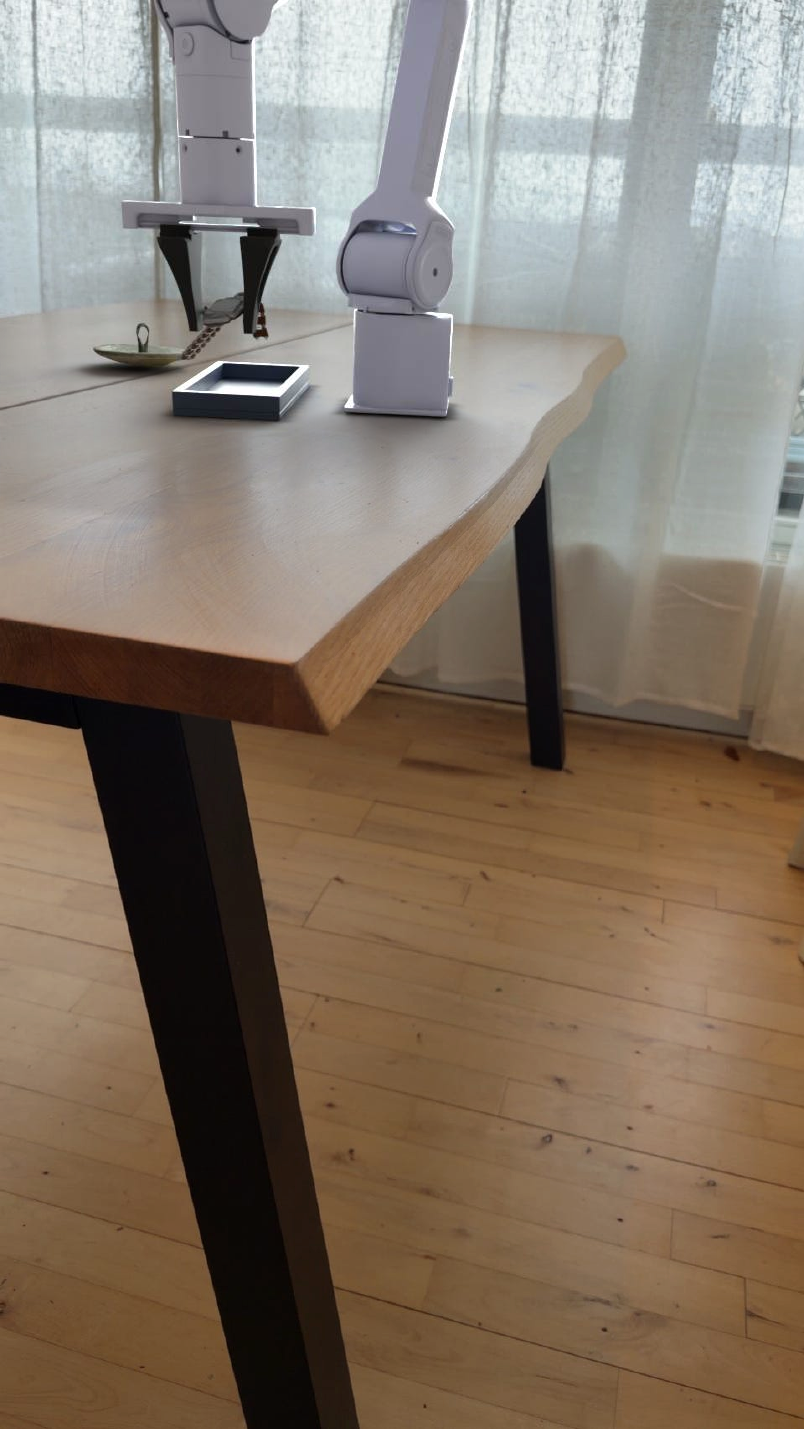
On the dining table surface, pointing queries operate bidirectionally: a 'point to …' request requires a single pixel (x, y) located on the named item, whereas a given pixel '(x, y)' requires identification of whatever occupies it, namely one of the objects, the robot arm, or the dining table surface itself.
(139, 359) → the lid
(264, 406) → the holder
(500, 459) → the dining table surface
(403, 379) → the robot arm
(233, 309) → the wristwatch
